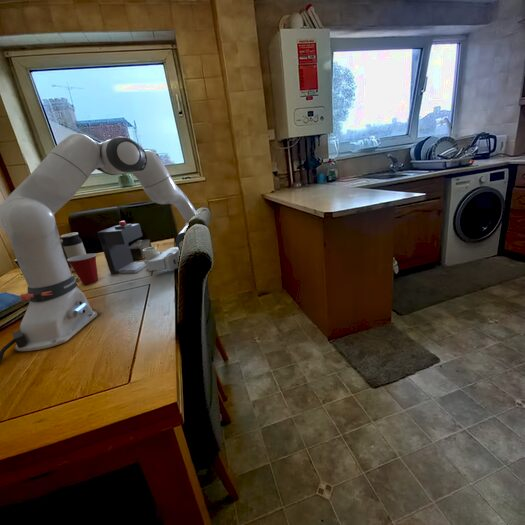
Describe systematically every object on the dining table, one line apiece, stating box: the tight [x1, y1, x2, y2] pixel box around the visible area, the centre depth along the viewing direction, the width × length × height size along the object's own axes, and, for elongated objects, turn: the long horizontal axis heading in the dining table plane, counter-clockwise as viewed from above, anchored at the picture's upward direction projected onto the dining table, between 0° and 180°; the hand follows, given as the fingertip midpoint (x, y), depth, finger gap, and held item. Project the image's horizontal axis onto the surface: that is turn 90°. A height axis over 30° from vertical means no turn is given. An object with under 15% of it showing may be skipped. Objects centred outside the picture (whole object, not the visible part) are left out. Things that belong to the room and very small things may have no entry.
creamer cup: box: [142, 246, 159, 272], centre depth 127 cm, size 6×6×10 cm
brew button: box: [118, 220, 127, 226], centre depth 123 cm, size 2×2×2 cm
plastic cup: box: [67, 253, 99, 286], centre depth 119 cm, size 11×11×12 cm
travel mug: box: [59, 232, 87, 272], centre depth 137 cm, size 8×8×18 cm
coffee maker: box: [97, 223, 147, 276], centre depth 128 cm, size 13×12×21 cm
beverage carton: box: [129, 239, 153, 261], centre depth 151 cm, size 8×19×7 cm, turn 6°
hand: (151, 258), depth 127 cm, fingers open, 8 cm apart
